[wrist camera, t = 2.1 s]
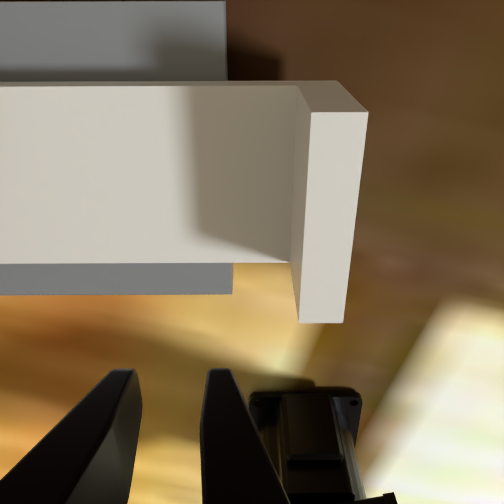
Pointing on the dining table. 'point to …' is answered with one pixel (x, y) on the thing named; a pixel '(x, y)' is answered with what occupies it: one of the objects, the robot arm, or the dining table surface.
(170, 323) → the dining table surface
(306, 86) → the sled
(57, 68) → the grey piece
